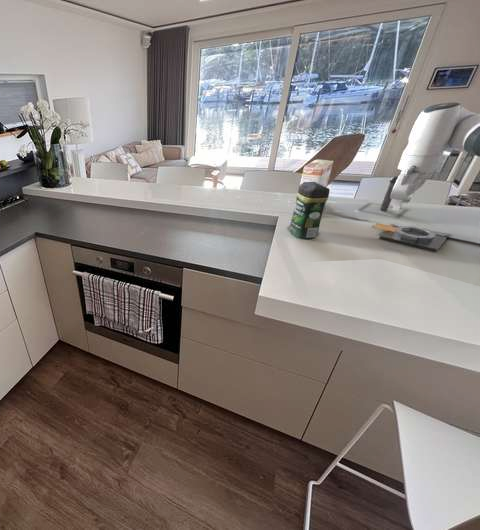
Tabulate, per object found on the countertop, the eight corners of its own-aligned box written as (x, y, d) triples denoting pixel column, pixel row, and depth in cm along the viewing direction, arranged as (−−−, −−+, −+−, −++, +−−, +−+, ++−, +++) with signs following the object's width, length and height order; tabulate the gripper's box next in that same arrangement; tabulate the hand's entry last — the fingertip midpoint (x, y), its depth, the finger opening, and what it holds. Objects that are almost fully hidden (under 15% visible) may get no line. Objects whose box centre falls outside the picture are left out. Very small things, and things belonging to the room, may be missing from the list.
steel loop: (436, 235, 94) (438, 231, 93) (428, 244, 90) (430, 240, 89) (379, 223, 105) (381, 219, 104) (369, 230, 101) (371, 227, 100)
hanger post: (406, 212, 114) (422, 175, 107) (396, 220, 108) (412, 182, 101) (369, 205, 123) (382, 171, 115) (358, 213, 117) (371, 177, 110)
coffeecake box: (304, 203, 131) (315, 159, 121) (322, 206, 127) (335, 160, 117) (292, 213, 123) (303, 166, 113) (311, 216, 118) (324, 167, 108)
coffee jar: (284, 229, 110) (295, 180, 100) (306, 228, 109) (319, 179, 99) (296, 240, 101) (310, 188, 92) (320, 239, 100) (336, 186, 91)
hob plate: (447, 238, 94) (448, 235, 94) (435, 252, 87) (437, 249, 87) (393, 226, 104) (394, 224, 104) (379, 238, 98) (380, 235, 97)
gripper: (421, 171, 81) (402, 217, 88) (441, 158, 91) (422, 200, 98) (393, 168, 86) (377, 212, 93) (414, 156, 96) (398, 196, 103)
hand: (400, 206), depth 96 cm, fingers open, 8 cm apart
